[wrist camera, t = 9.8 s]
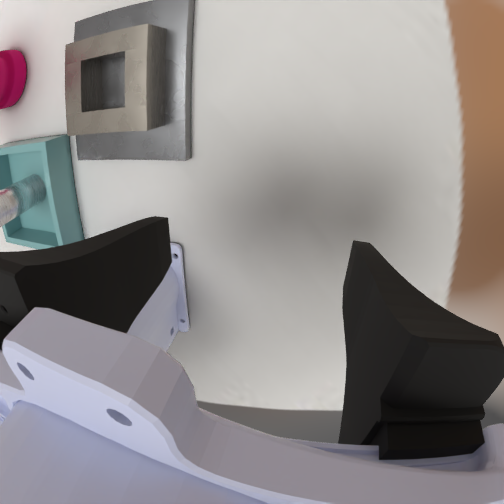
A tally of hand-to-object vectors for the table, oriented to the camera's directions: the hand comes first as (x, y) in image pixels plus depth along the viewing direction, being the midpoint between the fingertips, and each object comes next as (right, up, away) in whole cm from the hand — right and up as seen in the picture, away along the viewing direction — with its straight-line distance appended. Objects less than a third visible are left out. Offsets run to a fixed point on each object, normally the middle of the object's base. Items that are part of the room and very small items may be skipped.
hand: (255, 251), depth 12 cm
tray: (-21, +6, +14) cm, 26 cm away
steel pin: (-21, +6, +13) cm, 26 cm away
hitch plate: (-9, +13, +7) cm, 17 cm away
